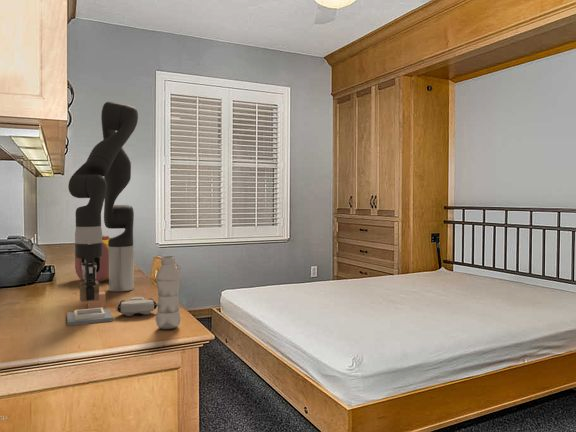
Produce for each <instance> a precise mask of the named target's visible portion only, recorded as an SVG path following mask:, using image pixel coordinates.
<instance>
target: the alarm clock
mask: <svg viewBox="0 0 576 432" xmlns="http://www.w3.org/2000/svg"><path fill="white" fill-rule="evenodd" d="M110 238H111V237H110V236H109V235H103V234H102V251H103V255H102V257H99V258H94V263H96V264H97V269H96V279H95V281H98V283H100V282H104V281H107V280H108V281H109V252H108V241H109V239H110ZM82 263H84V258H83V259H80V258H76V257H75V256H74V269H75V273H76V275H77V277H78V278H79V279H80V280H83V281H84V278H83V270H82Z"/></svg>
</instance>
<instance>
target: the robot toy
mask: <svg viewBox="0 0 576 432" xmlns="http://www.w3.org/2000/svg"><path fill="white" fill-rule="evenodd" d="M156 308H158V302H156V301H155V299H153V298H148V299H146V298H144V296H135V297H133V296H132V297H130V298H129V299H128V300H124V299H123V300H120V301H119V302H118V305H116V307H115V309H116V310H117V311H118V312H119V313H121V314H123V315H124V316H126V317H130V316H131V317H132V316H134V315H135V314H140V315H142V314H143V315H142V316H146V314H147V315H149V314H150V313H151V312H154V311H155V310H156Z"/></svg>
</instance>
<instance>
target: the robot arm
mask: <svg viewBox="0 0 576 432" xmlns="http://www.w3.org/2000/svg"><path fill="white" fill-rule="evenodd" d="M100 117H101V129H102V137H103V138H102V140H101V141H99V142H98V143H97V144H96V145H94V147H93V148H92V150H91V152H90V153H89V155H88V157H87V160H86V161H85V162H84V163H83V164H82V165H81V166H80V167H79V168H78V169H77V170H76V171H75V172H74V173H73V174H72V175H71V176H70V178H69V181H68V192H69V194H70V195H71V196H72V197H74V198H76V199H77V198H78V199H89V200H88V203H87V204H86V205H83V206H79V207H77V208H75V232H74V258H75V257H76V258H80V259H83V258H84V263H82V270H83V278H84V280H83V282H86V284H85V287H86V299H87V300H94V287H95V285H96V283H95V279H96V269H97V264H96V263H94V258H99V257H102V255H103V251H102V235H103V230H102V210H103V222H104V225H105V227H106V228H107V229H111V230H112V229H115V230H117V229H124V231H123V232H121V233H120V234H119V235H118V234H117V236H113V237H109V238H110V239H109V241H108V252H109V279H108V291H110V292H127V291H133V290H134V287H135V285H134V284H135V281H134V280H135V279H134V278H135V276H134V274H135V273H134V272H135V271H134V270H135V269H134V267H135V265H134V219H135V218H134V216H135V213H134V212H135V211H134V208H133V206H132V205H130V204H115V202H116V200H117V199H118V197H119V195H120V194H121V193H122V192H123V191H124V189H125V188H126V187H127V186H128V185H129V184H130V181H131V178H132V176H131V175H132V162H131V159H130V158H129V155H128V154H127V152H126V151H125V150H124V148H123V146H124V145H126V143H127V141H128V140H129V139H130V137H131V136H132V134H133V132H135V129H136V127H137V125H138V119H139V113H138V109H137V108H136V107H135V106H132V105H128V104H125V103H119V102H114V101H106V102H105V103H104V104H103V105H102V109H101V116H100ZM103 206H104V208H103ZM89 281H93V282H89Z"/></svg>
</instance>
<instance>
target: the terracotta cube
mask: <svg viewBox="0 0 576 432" xmlns="http://www.w3.org/2000/svg"><path fill="white" fill-rule="evenodd" d="M106 304H107V301H106V292H105V291H102V290H101V291H100V290H99V300H97V301H87V307H88V308H87V309H92V308H103V309H107V307H106V306H107V305H106Z"/></svg>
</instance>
